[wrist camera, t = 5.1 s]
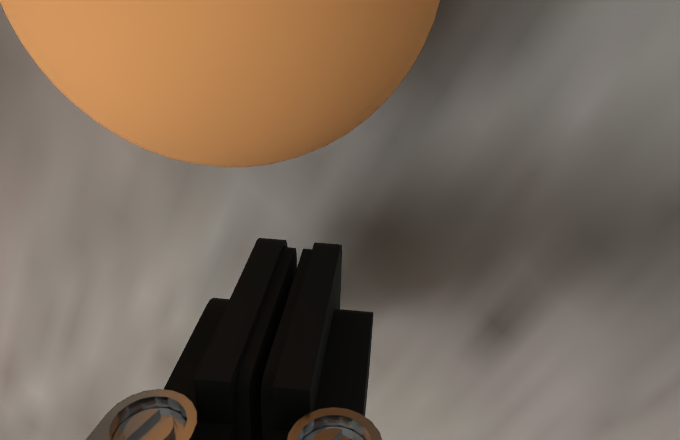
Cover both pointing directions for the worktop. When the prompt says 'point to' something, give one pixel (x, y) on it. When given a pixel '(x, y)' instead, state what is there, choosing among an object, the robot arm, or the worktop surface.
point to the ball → (225, 69)
